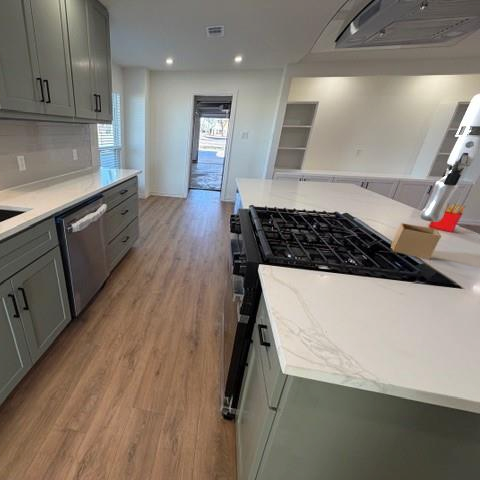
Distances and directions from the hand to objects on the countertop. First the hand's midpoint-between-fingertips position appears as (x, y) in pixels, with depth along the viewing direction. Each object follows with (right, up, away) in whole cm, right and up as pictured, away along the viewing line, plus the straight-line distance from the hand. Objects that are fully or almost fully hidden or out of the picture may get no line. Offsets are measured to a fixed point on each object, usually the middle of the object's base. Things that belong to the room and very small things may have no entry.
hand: (447, 183), depth 96 cm
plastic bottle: (0, -14, +6) cm, 15 cm away
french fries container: (+47, -16, +44) cm, 66 cm away
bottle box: (-3, -28, +12) cm, 30 cm away
